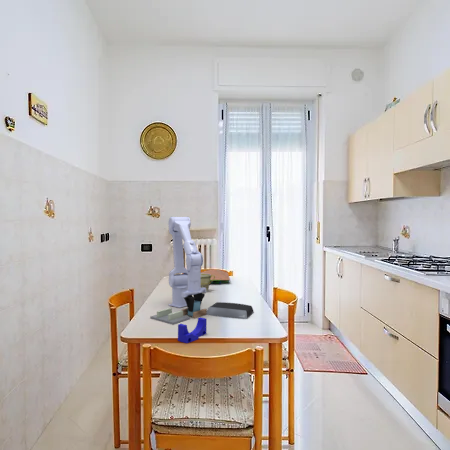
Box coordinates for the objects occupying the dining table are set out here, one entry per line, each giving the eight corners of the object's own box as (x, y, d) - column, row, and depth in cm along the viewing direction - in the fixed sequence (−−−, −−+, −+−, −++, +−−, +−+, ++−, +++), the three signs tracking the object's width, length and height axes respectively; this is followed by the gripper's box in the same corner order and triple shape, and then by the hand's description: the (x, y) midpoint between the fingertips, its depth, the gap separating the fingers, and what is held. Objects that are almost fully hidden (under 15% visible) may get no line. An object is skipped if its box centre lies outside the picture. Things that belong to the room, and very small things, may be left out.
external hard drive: (246, 320, 154) (246, 311, 154) (205, 316, 161) (205, 307, 161) (254, 313, 167) (254, 304, 166) (215, 309, 173) (215, 300, 173)
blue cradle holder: (186, 344, 125) (187, 327, 125) (177, 341, 128) (178, 324, 128) (209, 335, 135) (209, 319, 134) (200, 332, 137) (200, 317, 137)
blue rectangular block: (193, 313, 164) (193, 300, 164) (200, 314, 161) (200, 301, 161) (187, 315, 160) (187, 301, 160) (194, 316, 158) (194, 303, 158)
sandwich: (194, 285, 229) (194, 273, 229) (196, 276, 262) (196, 265, 262) (230, 285, 230) (230, 273, 230) (227, 276, 263) (227, 265, 263)
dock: (167, 313, 163) (167, 306, 163) (189, 319, 154) (189, 311, 154) (150, 318, 155) (150, 310, 155) (173, 324, 146) (173, 316, 146)
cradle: (193, 311, 166) (193, 306, 166) (206, 314, 162) (206, 309, 162) (181, 315, 160) (181, 309, 160) (194, 318, 155) (194, 312, 155)
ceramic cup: (196, 294, 202) (197, 276, 202) (191, 290, 212) (191, 274, 211) (218, 292, 208) (218, 275, 207) (211, 289, 217) (211, 272, 217)
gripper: (189, 283, 152) (189, 315, 153) (211, 279, 164) (211, 308, 164) (177, 281, 156) (177, 312, 157) (199, 277, 168) (199, 306, 168)
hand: (194, 310), depth 161 cm, fingers closed on blue rectangular block, 4 cm apart
